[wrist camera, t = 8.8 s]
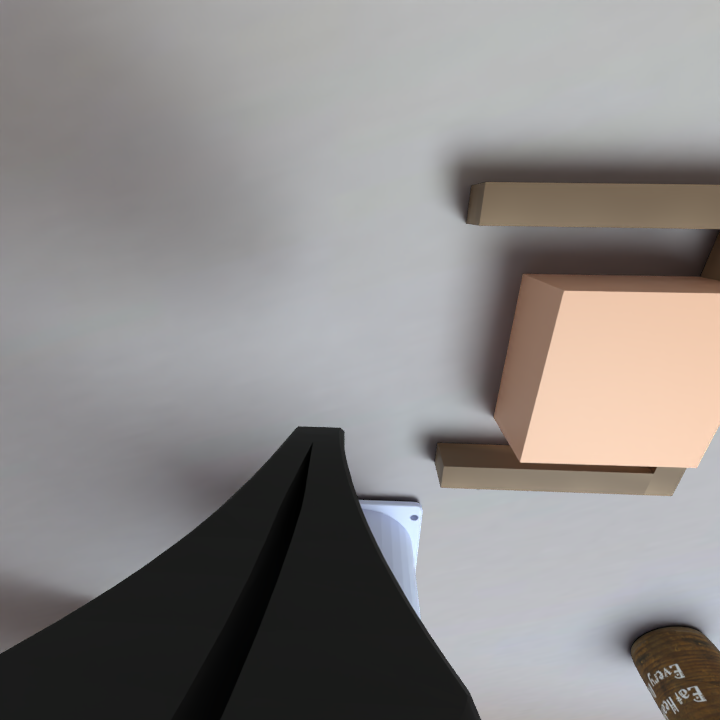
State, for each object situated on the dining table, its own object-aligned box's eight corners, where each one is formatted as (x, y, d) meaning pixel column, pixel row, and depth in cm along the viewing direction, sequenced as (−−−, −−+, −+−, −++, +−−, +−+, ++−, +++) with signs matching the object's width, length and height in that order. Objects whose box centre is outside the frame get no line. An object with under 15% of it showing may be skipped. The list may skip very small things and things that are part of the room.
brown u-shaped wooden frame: (644, 469, 20) (671, 496, 18) (434, 462, 20) (440, 487, 19) (774, 189, 14) (835, 186, 12) (471, 185, 14) (485, 182, 12)
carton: (634, 418, 19) (696, 468, 15) (492, 414, 19) (519, 462, 16) (692, 275, 16) (788, 294, 12) (520, 272, 16) (563, 291, 12)
